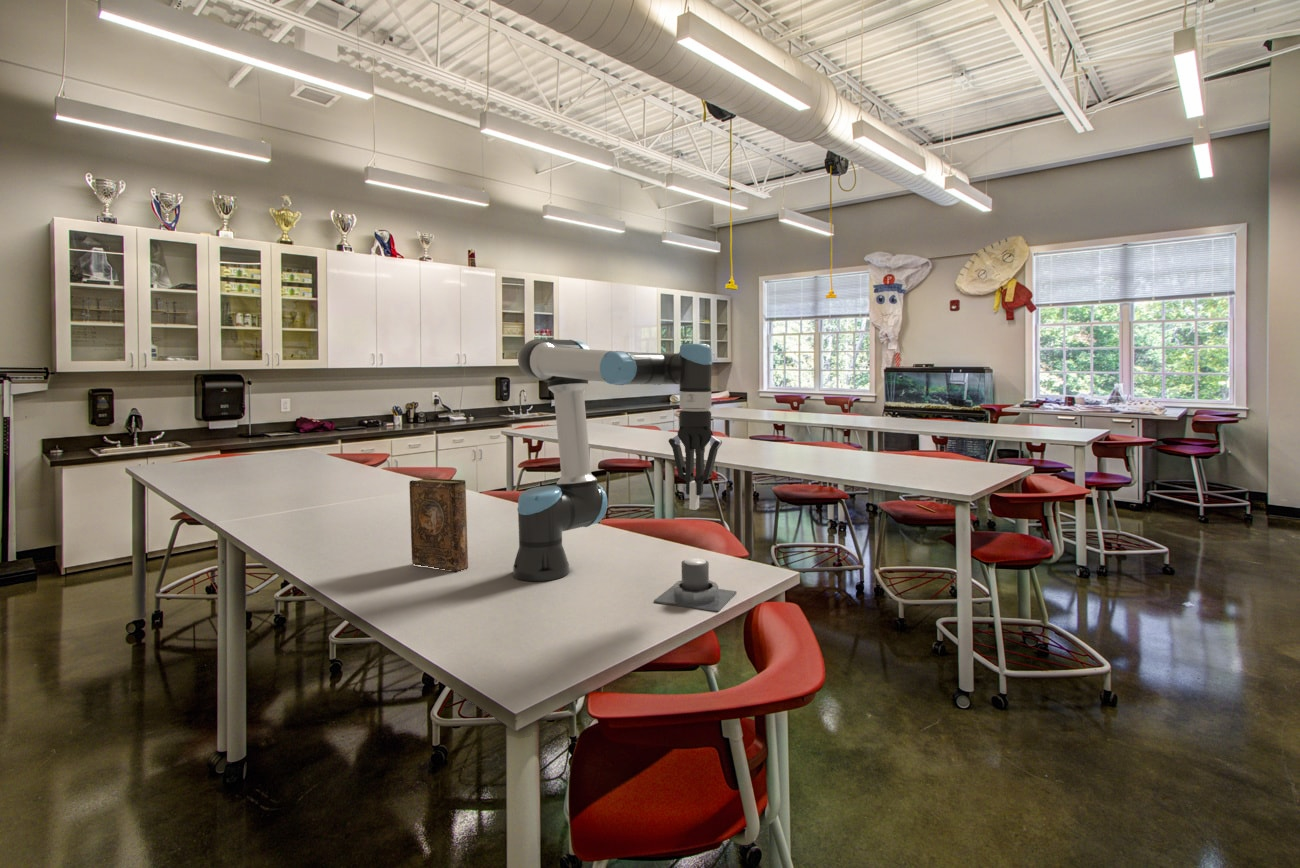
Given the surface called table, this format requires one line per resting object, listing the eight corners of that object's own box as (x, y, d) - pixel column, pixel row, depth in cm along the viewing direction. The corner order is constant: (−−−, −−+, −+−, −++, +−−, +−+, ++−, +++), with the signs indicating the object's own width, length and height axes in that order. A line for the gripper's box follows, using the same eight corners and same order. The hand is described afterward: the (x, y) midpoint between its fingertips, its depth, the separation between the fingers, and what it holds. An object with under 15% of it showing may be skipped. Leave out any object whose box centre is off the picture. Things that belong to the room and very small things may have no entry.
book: (471, 567, 179) (468, 480, 177) (458, 572, 174) (455, 483, 172) (425, 561, 185) (422, 477, 183) (412, 566, 180) (408, 480, 178)
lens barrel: (677, 597, 150) (677, 563, 149) (687, 589, 156) (687, 556, 155) (703, 601, 147) (703, 566, 147) (712, 592, 153) (712, 559, 153)
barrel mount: (653, 602, 149) (653, 589, 148) (676, 585, 161) (676, 573, 161) (718, 611, 142) (718, 599, 142) (736, 593, 155) (736, 581, 154)
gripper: (663, 409, 147) (663, 509, 150) (716, 411, 142) (715, 514, 144) (675, 408, 154) (675, 503, 156) (726, 409, 149) (725, 508, 151)
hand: (694, 508), depth 150 cm, fingers closed
